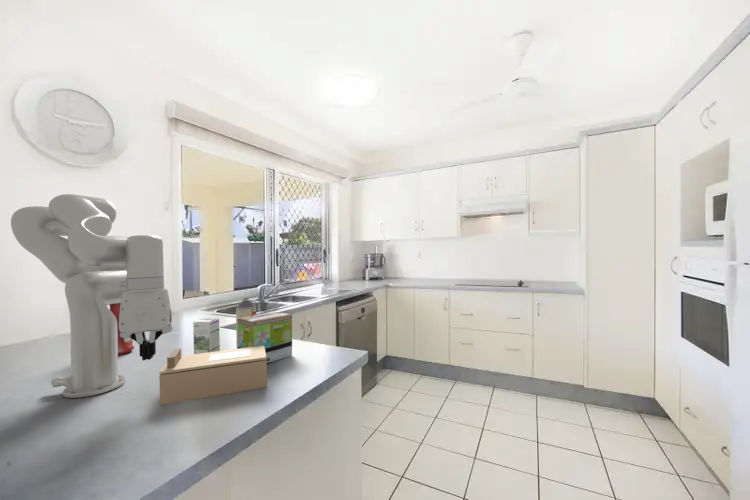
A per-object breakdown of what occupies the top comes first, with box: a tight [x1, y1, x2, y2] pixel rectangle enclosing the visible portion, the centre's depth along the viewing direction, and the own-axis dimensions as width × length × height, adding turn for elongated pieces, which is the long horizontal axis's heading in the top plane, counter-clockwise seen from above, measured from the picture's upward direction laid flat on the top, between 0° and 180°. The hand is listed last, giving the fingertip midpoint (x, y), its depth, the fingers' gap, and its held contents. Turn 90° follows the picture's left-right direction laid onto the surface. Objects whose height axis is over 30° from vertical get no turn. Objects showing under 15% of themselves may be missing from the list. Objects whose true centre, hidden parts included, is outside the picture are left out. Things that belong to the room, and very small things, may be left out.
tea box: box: [236, 311, 293, 364], centre depth 107 cm, size 15×10×15 cm
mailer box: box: [159, 360, 268, 406], centre depth 85 cm, size 24×12×7 cm, turn 112°
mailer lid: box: [159, 346, 266, 375], centre depth 85 cm, size 24×12×3 cm, turn 112°
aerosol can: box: [235, 296, 257, 340], centre depth 116 cm, size 7×7×20 cm
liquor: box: [109, 303, 135, 356], centre depth 118 cm, size 7×7×28 cm
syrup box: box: [192, 317, 221, 354], centre depth 104 cm, size 6×6×14 cm
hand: (147, 358), depth 79 cm, fingers closed
